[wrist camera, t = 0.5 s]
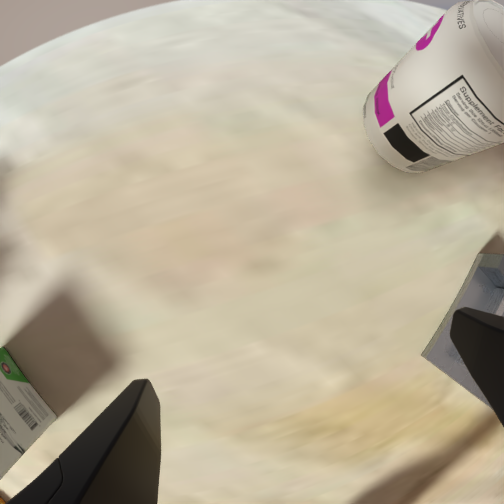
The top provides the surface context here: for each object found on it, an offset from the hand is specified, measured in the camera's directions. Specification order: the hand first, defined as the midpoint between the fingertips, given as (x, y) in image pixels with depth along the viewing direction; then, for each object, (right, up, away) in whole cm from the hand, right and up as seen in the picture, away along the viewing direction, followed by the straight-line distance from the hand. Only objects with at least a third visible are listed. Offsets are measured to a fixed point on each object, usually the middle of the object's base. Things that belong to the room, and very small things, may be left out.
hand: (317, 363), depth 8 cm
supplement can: (+11, +13, +16) cm, 24 cm away
